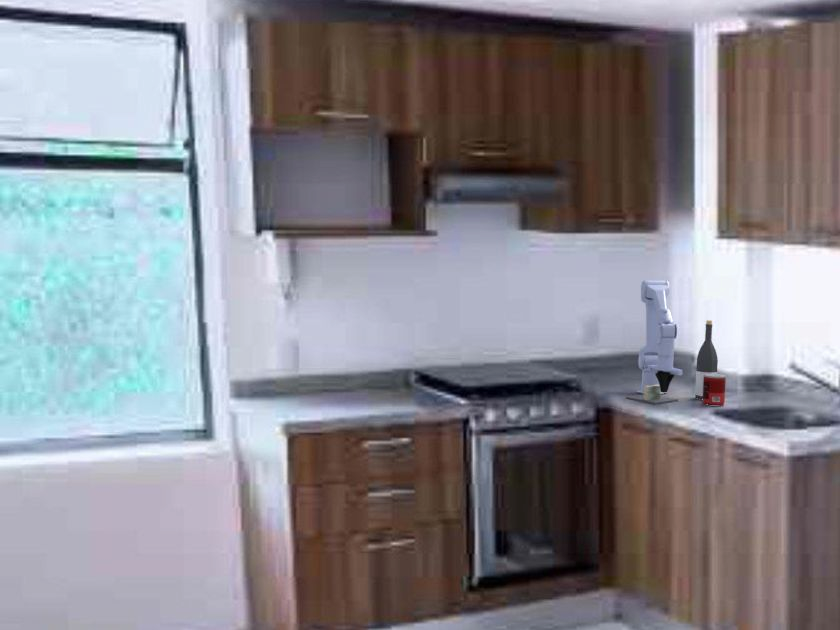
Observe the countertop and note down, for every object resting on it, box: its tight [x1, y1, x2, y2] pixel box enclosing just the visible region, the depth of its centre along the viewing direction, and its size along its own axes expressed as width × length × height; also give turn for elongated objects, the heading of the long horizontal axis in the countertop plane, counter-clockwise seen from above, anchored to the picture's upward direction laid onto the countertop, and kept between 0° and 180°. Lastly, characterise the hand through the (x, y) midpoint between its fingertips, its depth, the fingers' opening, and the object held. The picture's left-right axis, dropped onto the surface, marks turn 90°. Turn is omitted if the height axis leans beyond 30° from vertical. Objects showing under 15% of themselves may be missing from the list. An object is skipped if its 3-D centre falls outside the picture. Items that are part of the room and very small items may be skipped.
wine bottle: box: [694, 319, 719, 400], centre depth 386 cm, size 8×8×30 cm
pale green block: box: [643, 385, 661, 400], centre depth 380 cm, size 7×2×5 cm, turn 127°
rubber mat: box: [625, 394, 679, 405], centre depth 382 cm, size 13×14×1 cm
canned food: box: [702, 373, 727, 406], centre depth 375 cm, size 8×8×11 cm
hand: (664, 392), depth 376 cm, fingers closed
